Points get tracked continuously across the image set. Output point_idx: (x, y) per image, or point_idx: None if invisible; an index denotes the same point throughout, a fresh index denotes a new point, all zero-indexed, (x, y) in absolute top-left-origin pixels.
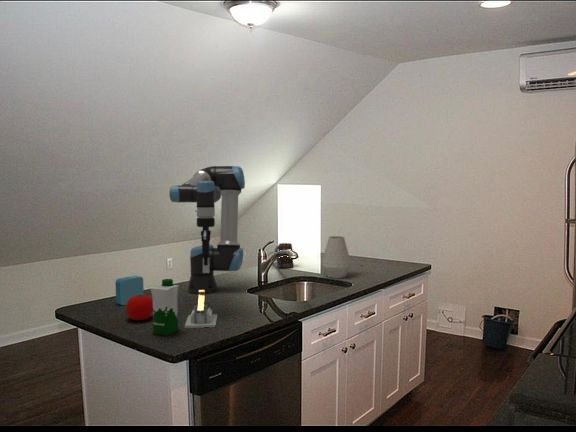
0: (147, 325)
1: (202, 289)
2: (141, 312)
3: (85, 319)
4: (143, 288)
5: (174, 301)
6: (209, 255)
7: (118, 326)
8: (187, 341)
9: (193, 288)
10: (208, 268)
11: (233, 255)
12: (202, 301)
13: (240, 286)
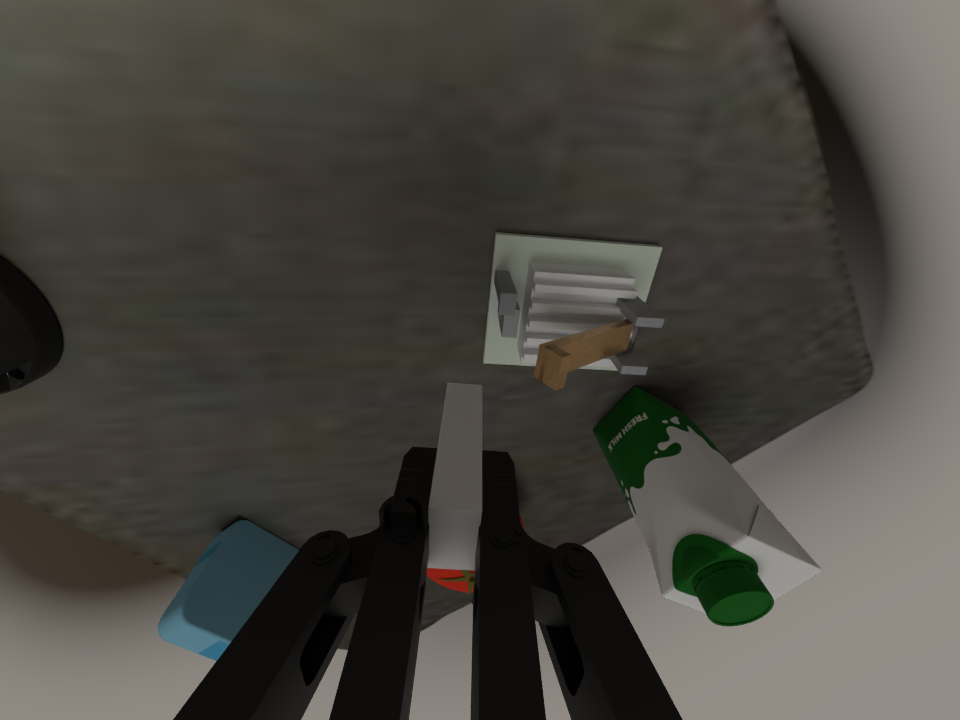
0: (546, 474)
1: (23, 317)
2: (521, 521)
3: (450, 600)
4: (210, 561)
5: (741, 483)
6: (411, 527)
7: (533, 534)
8: (772, 350)
9: (31, 366)
10: (480, 417)
11: None
12: (596, 342)
13: None
